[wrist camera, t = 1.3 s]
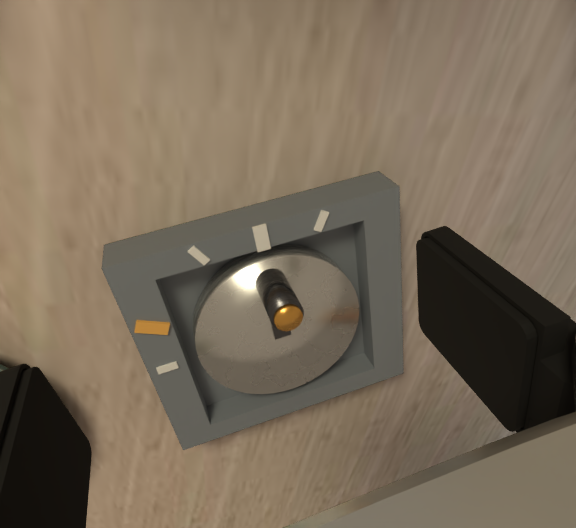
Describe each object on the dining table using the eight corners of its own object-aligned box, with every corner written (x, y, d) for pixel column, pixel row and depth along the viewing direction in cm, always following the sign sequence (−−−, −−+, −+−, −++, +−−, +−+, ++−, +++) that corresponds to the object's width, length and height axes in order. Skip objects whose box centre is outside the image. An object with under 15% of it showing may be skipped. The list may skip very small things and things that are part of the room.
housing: (378, 171, 37) (400, 187, 34) (387, 350, 48) (404, 374, 45) (104, 245, 34) (101, 270, 31) (179, 420, 45) (183, 452, 42)
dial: (342, 224, 37) (381, 266, 31) (355, 350, 45) (388, 403, 39) (171, 273, 35) (179, 328, 29) (214, 397, 42) (228, 460, 37)
